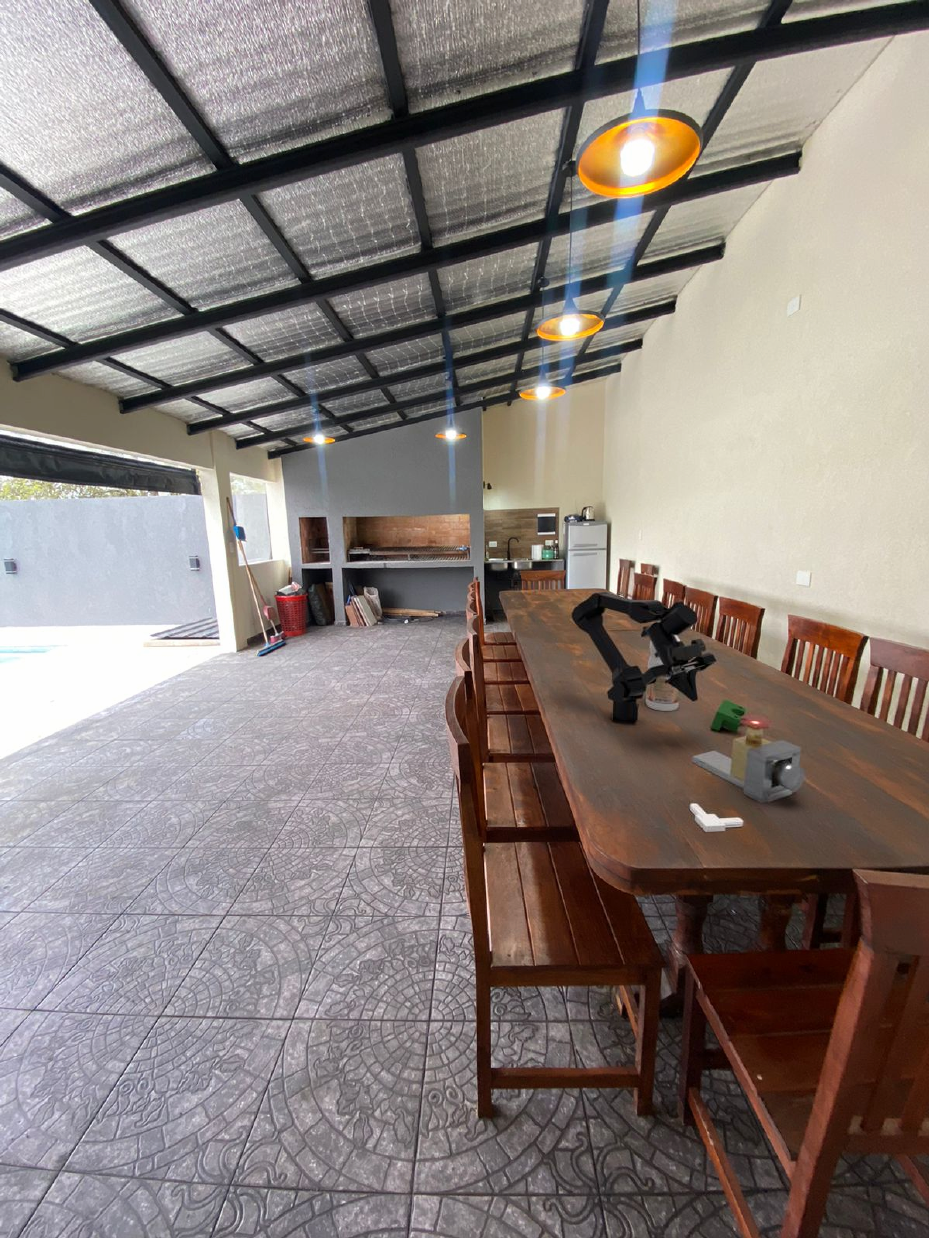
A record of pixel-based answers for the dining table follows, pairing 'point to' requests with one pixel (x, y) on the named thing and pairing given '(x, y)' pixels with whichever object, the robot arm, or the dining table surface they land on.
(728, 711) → the clamp
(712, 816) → the corner connector
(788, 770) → the grey ball socket brick
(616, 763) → the dining table surface
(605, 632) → the robot arm
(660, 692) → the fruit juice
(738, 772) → the valve
